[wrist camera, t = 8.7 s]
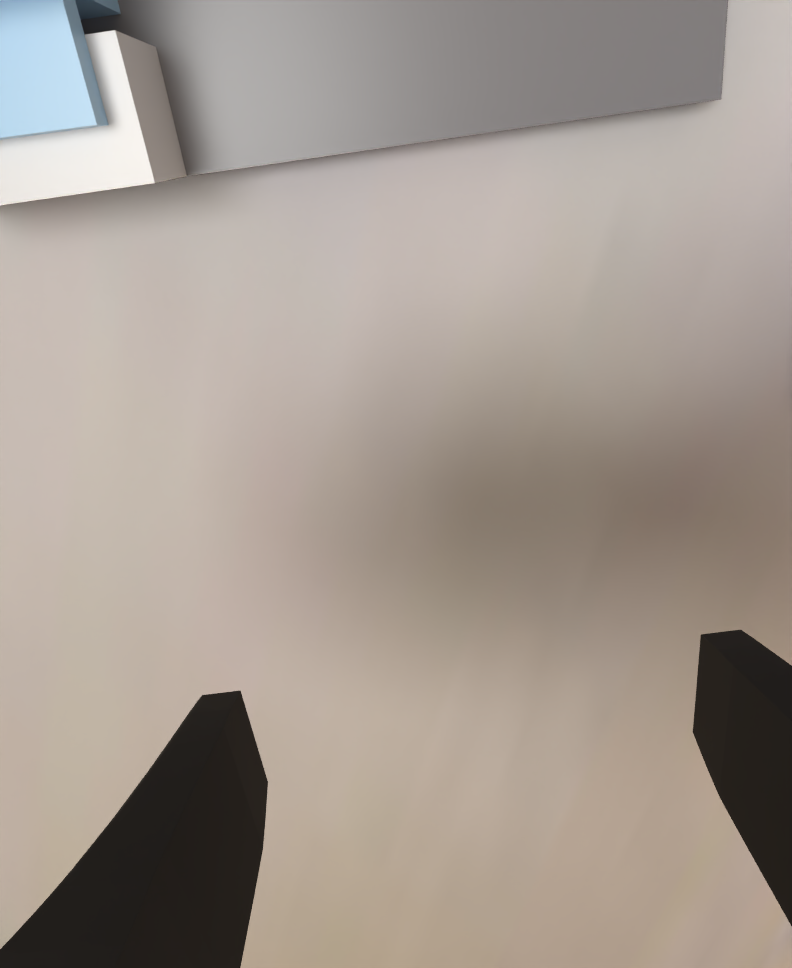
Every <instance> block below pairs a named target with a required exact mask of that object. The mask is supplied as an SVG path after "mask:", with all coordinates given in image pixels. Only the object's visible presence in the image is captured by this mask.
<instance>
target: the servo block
mask: <svg viewBox="0 0 792 968" xmlns="http://www.w3.org/2000/svg"><path fill="white" fill-rule="evenodd" d="M118 14H121V12H120V8H119V4H118V0H0V140H3V139H10V138H18V137H25V136H33V135H40V134H48V133H55V132H62V131H70V130H77V129H85V128H92V127H100V126H107V125H109V124H108V121H107V117H106V113H105V109H104V106H103V102H102V98H101V95H100V91H99V87H98V83H97V80H96V76H95V72H94V68H93V65H92V61H91V57H90V54H89V50H88V46H87V42H86V39H85V35H84V31H83V28H82V24H81V19H89V18H96V17H103V16H110V15H118Z"/></svg>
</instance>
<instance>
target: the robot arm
mask: <svg viewBox="0 0 792 968" xmlns="http://www.w3.org/2000/svg"><path fill="white" fill-rule="evenodd" d="M693 734H694V736H695V739H696V741H697V744H698V746H699V749H700V751H701V754H702V756H703V759H704V761H705V764H706V766H707V769H708V771H709V773H710V776H711V778H712V780H713V783H714V785H715V787H716V790H717V792H718V794H719V796H720V798H721V800H722V802H723V804H724V806H725V808H726V809H727V811H728V813H729V815H730V817H731V819H732V820H733V822H734V824H735V826H736V828H737V829H738V831H739V833H740V835H741V837H742V838H743V840H744V842H745V844H746V846H747V848H748V849H749V851H750V853H751V855H752V856H753V858H754V860H755V862H756V864H757V865H758V867H759V869H760V871H761V872H762V874H763V876H764V878H765V880H766V881H767V883H768V885H769V887H770V888H771V890H772V892H773V894H774V896H775V897H776V899H777V901H778V903H779V905H780V906H781V908H782V910H783V912H784V913H785V915H786V917H787V919H788V921H789V922H790V924H791V926H792V666H791V665H790V664H788V663H787V662H786V661H784V660H783V659H782V658H780V657H779V656H777V655H776V654H775V653H773V652H772V651H770V650H769V649H768V648H766V647H765V646H763V645H762V644H761V643H759V642H758V641H756V640H755V639H754V638H752V637H751V636H749V635H748V634H746V633H745V632H743V631H742V630H735V631H726V632H718V633H710V634H702V635H701V640H700V652H699V665H698V677H697V689H696V701H695V713H694V725H693ZM267 787H268V781H267V778H266V775H265V771H264V768H263V765H262V761H261V758H260V754H259V751H258V748H257V744H256V741H255V738H254V734H253V731H252V728H251V724H250V721H249V718H248V714H247V711H246V708H245V704H244V701H243V698H242V694H241V691H234V692H225V693H217V694H209V695H202V696H201V698H200V699H199V700H198V701H197V703H196V704H195V705H194V707H193V708H192V710H191V711H190V712H189V714H188V715H187V717H186V718H185V720H184V721H183V722H182V724H181V725H180V727H179V728H178V730H177V731H176V733H175V734H174V735H173V737H172V738H171V740H170V741H169V743H168V744H167V745H166V747H165V748H164V750H163V751H162V752H161V754H160V755H159V757H158V758H157V760H156V761H155V762H154V764H153V765H152V767H151V768H150V769H149V771H148V772H147V774H146V775H145V776H144V778H143V779H142V780H141V782H140V783H139V784H138V786H137V787H136V788H135V790H134V791H133V792H132V794H131V795H130V796H129V798H128V799H127V801H126V802H125V803H124V805H123V806H122V807H121V809H120V810H119V811H118V813H117V814H116V815H115V817H114V818H113V819H112V820H111V822H110V823H109V824H108V826H107V827H106V828H105V829H104V830H103V832H102V833H101V834H100V835H99V837H98V838H97V839H96V840H95V842H94V843H93V844H92V845H91V847H90V848H89V849H88V850H87V852H86V853H85V854H84V855H83V857H82V858H81V859H80V860H79V861H78V863H77V864H76V865H75V866H74V868H73V869H72V870H71V871H70V873H69V874H68V875H67V876H66V877H65V878H64V880H63V881H62V882H61V883H60V884H59V885H58V887H57V888H56V889H55V890H54V891H53V892H52V894H51V895H50V896H49V897H48V898H47V899H46V900H45V901H44V903H43V904H42V905H41V906H40V907H39V908H38V909H37V910H36V912H35V913H34V914H33V915H32V916H31V917H30V918H29V919H28V920H27V921H26V922H25V924H24V925H23V926H22V927H21V928H20V929H19V930H18V931H17V932H16V933H15V934H14V935H13V937H12V938H11V939H10V940H9V941H8V942H7V943H6V944H5V945H4V946H3V947H2V948H1V949H0V968H240V966H241V961H242V956H243V951H244V945H245V940H246V935H247V930H248V925H249V920H250V914H251V909H252V904H253V899H254V893H255V888H256V883H257V877H258V872H259V867H260V861H261V856H262V850H263V841H264V829H265V817H266V802H267Z"/></svg>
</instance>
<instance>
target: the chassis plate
mask: <svg viewBox="0 0 792 968" xmlns="http://www.w3.org/2000/svg"><path fill="white" fill-rule="evenodd" d="M118 4H119V8H120V12H121V14H118V15H110V16H103V17H96V18H89V19H81V24H82V28H83V31H84V35H85V39H86V42H87V46H88V50H89V54H90V57H91V61H92V65H93V68H94V72H95V76H96V80H97V83H98V87H99V91H100V95H101V98H102V102H103V106H104V109H105V113H106V117H107V121H108V124H109V125H107V126H100V127H92V128H85V129H77V130H70V131H62V132H55V133H48V134H40V135H33V136H25V137H18V138H10V139H3V140H0V205H6V204H13V203H20V202H27V201H34V200H41V199H48V198H54V197H61V196H68V195H75V194H82V193H89V192H96V191H103V190H110V189H117V188H124V187H131V186H138V185H145V184H152V183H158V182H162V181H167V180H172V179H176V178H181V177H186V176H192V175H199V174H206V173H213V172H220V171H227V170H234V169H241V168H247V167H254V166H261V165H268V164H275V163H282V162H289V161H296V160H303V159H310V158H317V157H324V156H331V155H338V154H345V153H352V152H359V151H366V150H373V149H380V148H387V147H393V146H400V145H407V144H414V143H421V142H428V141H435V140H442V139H449V138H456V137H463V136H470V135H477V134H484V133H491V132H498V131H505V130H512V129H519V128H526V127H533V126H540V125H546V124H553V123H560V122H567V121H574V120H581V119H588V118H595V117H602V116H609V115H616V114H623V113H630V112H637V111H644V110H651V109H658V108H665V107H672V106H679V105H686V104H692V103H699V102H706V101H713V100H720V99H721V95H722V80H723V66H724V51H725V37H726V22H727V8H728V0H118Z"/></svg>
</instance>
